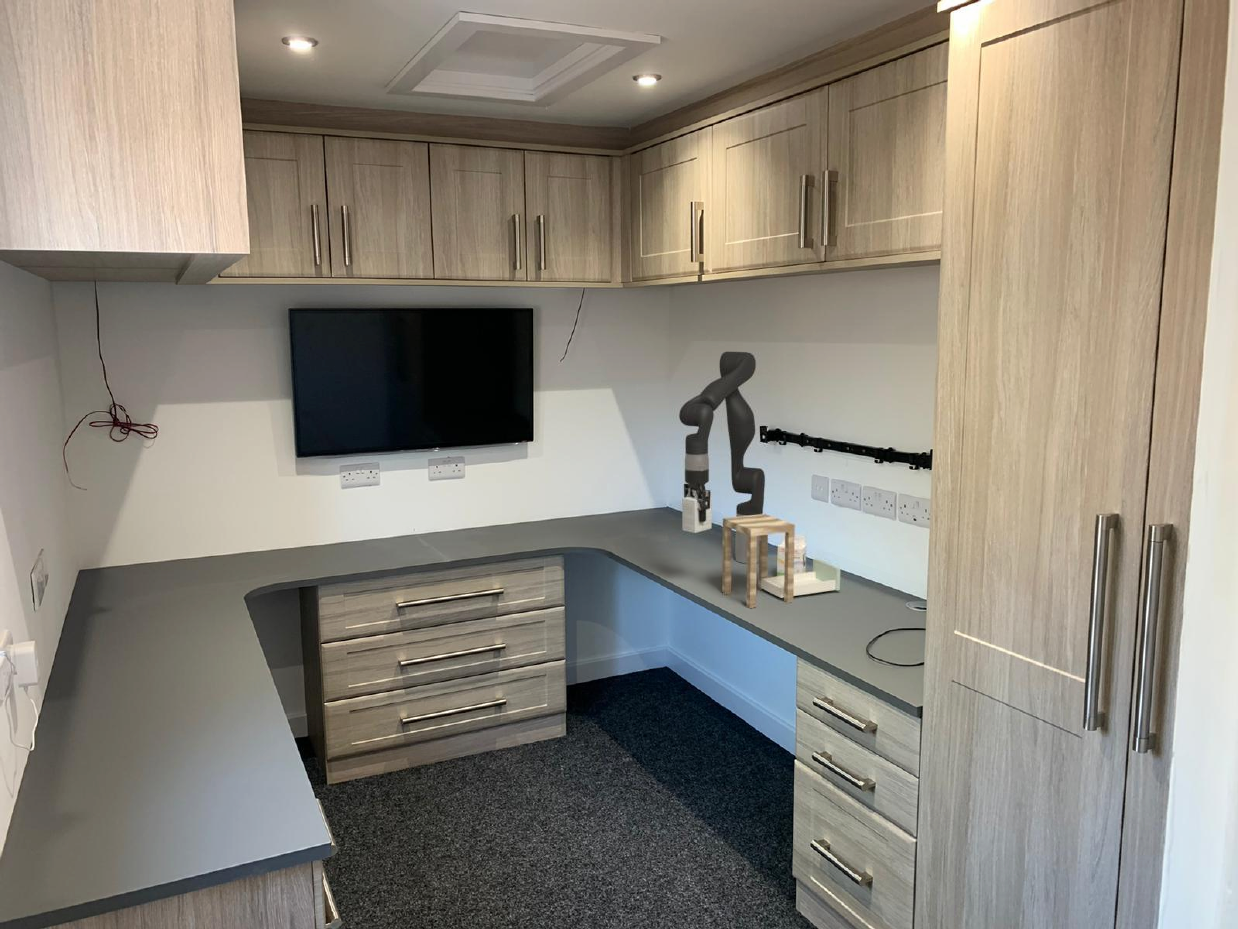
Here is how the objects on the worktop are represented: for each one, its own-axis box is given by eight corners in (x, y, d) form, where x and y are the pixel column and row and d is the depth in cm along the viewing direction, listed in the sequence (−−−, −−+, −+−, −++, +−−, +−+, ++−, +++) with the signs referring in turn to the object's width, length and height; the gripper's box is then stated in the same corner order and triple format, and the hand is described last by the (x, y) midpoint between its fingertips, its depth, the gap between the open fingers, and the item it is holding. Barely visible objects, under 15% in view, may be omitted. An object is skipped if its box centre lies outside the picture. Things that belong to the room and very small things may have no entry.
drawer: (759, 587, 294) (759, 565, 293) (815, 579, 302) (816, 558, 301) (782, 598, 282) (782, 576, 281) (839, 590, 290) (840, 568, 289)
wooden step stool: (722, 593, 291) (722, 518, 287) (763, 587, 297) (764, 513, 293) (750, 608, 276) (750, 529, 272) (793, 602, 281) (794, 524, 278)
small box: (698, 525, 299) (698, 493, 297) (712, 528, 295) (711, 496, 293) (681, 530, 294) (681, 497, 292) (695, 533, 290) (694, 500, 288)
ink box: (775, 580, 305) (776, 536, 302) (780, 576, 309) (781, 533, 307) (801, 583, 301) (802, 539, 298) (806, 579, 305) (807, 535, 303)
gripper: (675, 464, 296) (676, 515, 299) (696, 472, 283) (696, 525, 286) (696, 462, 299) (697, 513, 302) (718, 470, 286) (718, 522, 289)
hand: (697, 519), depth 294 cm, fingers closed on small box, 7 cm apart
